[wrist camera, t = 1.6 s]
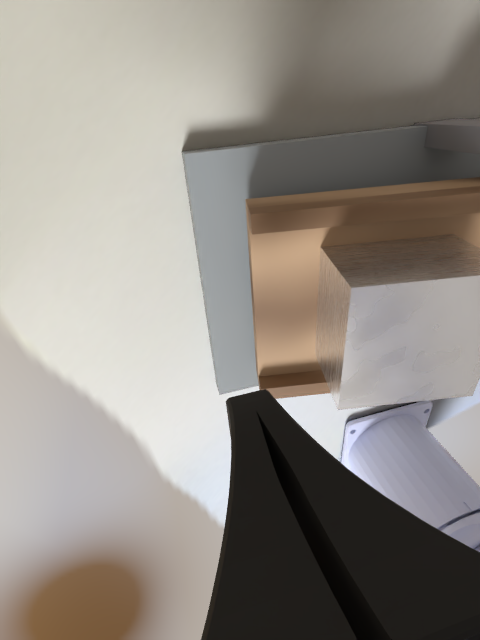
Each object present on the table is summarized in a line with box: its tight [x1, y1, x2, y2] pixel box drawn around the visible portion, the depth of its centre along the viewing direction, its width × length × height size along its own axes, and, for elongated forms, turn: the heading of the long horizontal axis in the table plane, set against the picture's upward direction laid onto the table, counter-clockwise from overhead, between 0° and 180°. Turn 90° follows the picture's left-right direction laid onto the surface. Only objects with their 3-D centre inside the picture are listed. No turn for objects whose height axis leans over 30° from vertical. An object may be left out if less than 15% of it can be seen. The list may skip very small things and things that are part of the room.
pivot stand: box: [182, 118, 480, 401], centre depth 19 cm, size 14×26×6 cm, turn 94°
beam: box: [245, 177, 480, 399], centre depth 17 cm, size 11×22×3 cm, turn 94°
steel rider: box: [315, 234, 480, 410], centre depth 15 cm, size 6×6×4 cm
